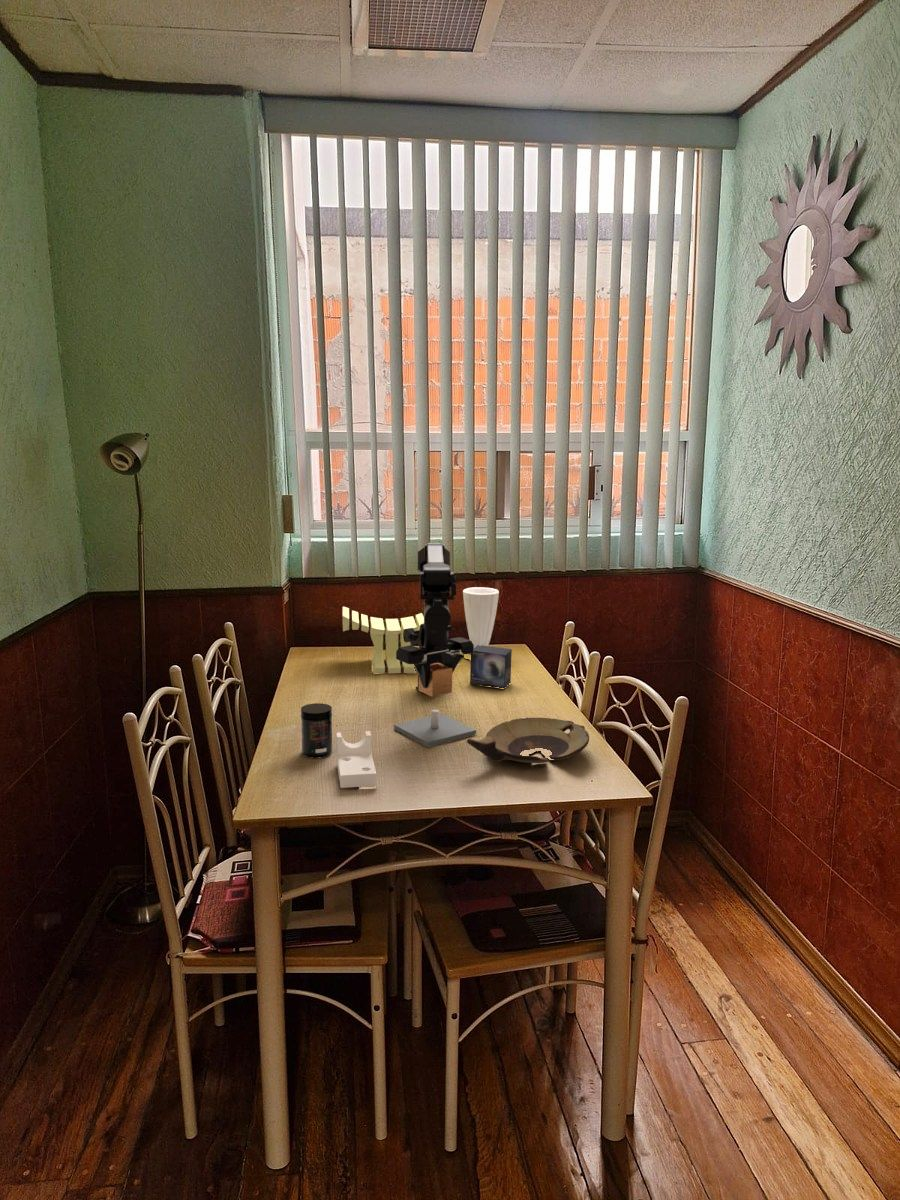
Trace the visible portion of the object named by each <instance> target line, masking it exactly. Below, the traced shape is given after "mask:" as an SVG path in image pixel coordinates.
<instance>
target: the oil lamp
mask: <svg viewBox="0 0 900 1200" xmlns="http://www.w3.org/2000/svg"><path fill="white" fill-rule="evenodd" d="M567 730H569V732H566V731H567ZM589 742H590V735H589V732H588V731H587V730H586V728H585V726H584V725H581V724H578V723H577V724H576V723H574V721H572V720H565V719H564V720H563V719H559V718H550V717H525V718H524V717H523V718H513V719H511V720H509V721H504V722H501V723H498V724H497V725H495V726H494V727H492V728H491V729H489V731H488V732H487V733H486V735H485V736H484V737H483V738H481V739H473V738H471V737H468V739H467V740H466V743H467V744H468V745H470V746H471V747H473V748H474V749H476V750H477V751H479V752H480V753H482V755H484V756H486V757H487V758H488V759H489V760H491V761H493V762H499V761H503V760H504V761H505V760H507V761H508V760H509V761H514V762H520V763H524V764H525V763H526V764H544V763H549V761H550V760H549V759H548V758H545V757H539V756H533V755H529V756H522V755H520V753H521V752H522V751H524V750H530V749H535V748H543V749H547V750H550V751H551V752H552V755H550V756H549V757H550V758H551V759H554V760H553V761H557V760H558V761H559V760H565V759H569V758H571V757H574V756H576V755H577V754H579V753H581V752H582V751H583V750H584V749H585V748H586V747H587V746H588V745H589Z"/></svg>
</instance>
